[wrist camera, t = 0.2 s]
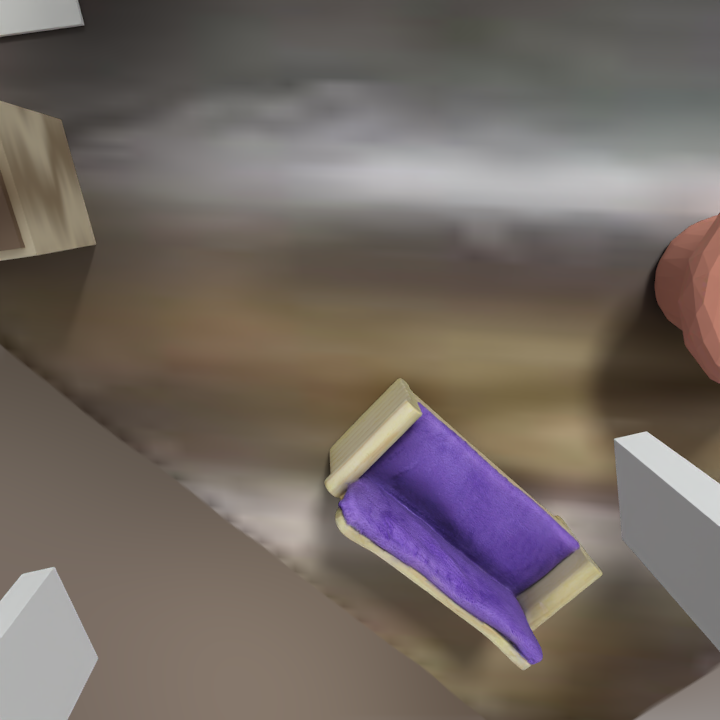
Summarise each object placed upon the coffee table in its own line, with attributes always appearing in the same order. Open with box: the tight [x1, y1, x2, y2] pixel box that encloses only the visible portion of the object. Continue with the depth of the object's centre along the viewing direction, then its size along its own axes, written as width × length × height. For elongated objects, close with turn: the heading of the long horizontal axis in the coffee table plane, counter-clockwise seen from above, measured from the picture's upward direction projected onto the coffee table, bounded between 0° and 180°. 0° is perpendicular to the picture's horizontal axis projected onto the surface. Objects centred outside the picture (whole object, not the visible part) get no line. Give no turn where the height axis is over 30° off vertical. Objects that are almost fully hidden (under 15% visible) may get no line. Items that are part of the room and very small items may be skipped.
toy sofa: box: [325, 378, 603, 670], centre depth 39 cm, size 21×9×10 cm, turn 47°
